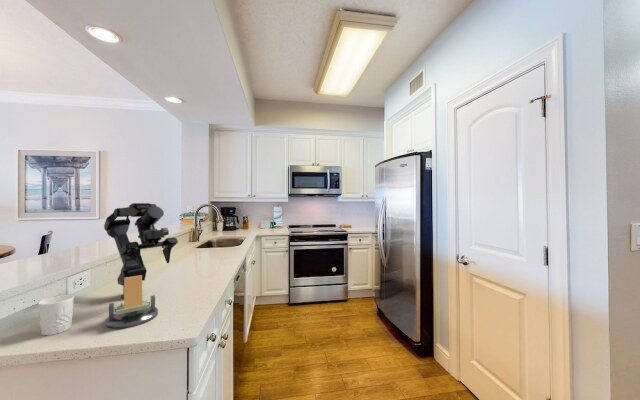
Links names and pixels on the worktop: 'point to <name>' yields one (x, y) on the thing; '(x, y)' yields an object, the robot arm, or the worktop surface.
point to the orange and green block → (132, 296)
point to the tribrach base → (131, 317)
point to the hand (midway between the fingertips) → (156, 265)
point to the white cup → (55, 314)
